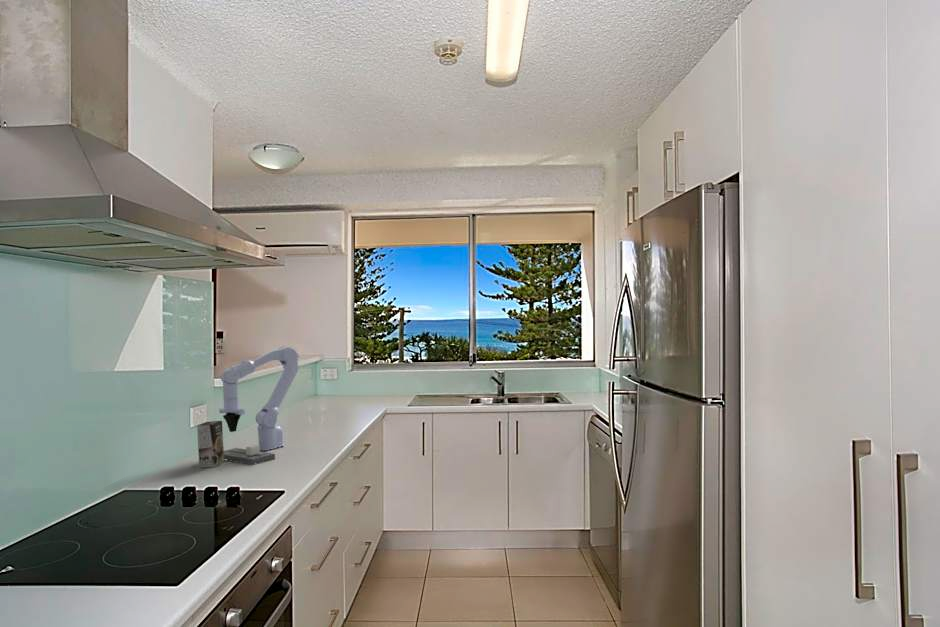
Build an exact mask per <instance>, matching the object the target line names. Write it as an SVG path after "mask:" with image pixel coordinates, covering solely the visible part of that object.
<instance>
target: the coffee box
mask: <svg viewBox="0 0 940 627" xmlns="http://www.w3.org/2000/svg"><path fill="white" fill-rule="evenodd" d="M196 427H197V429H196V430H197V448H198V468H216V467H217V466H219V465H221V464H222V463H224V462H225V460H224V451H225V450H224V448H225V447H224V432H223V420H216V421H215V420H212V421H205V422H203V423H201V424H200V423H199V424H198V425H196Z"/></svg>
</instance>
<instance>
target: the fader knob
mask: <svg viewBox="0 0 940 627" xmlns="http://www.w3.org/2000/svg"><path fill="white" fill-rule="evenodd" d="M245 449H246V455H250V456H252V455H256V454H260V452H261V450H260V446H259V444H256V445H250V446H246V447H245Z"/></svg>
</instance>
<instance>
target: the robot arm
mask: <svg viewBox="0 0 940 627" xmlns="http://www.w3.org/2000/svg"><path fill="white" fill-rule="evenodd" d="M298 360H299V354H298V351H297V350H296V348H294V347H292V346H287V347H286V346H280V347H278V348H275V349H273V350H270V351H268V352H266V353H264V354H263V355H261V356H259V357H257V358H255V359H254V360H250V359H247V360H246V359H243V360H242V361H241V362H240V363H239V364H236V365H232V366H230V367H231V368H226V369H224V370H223V371H222V372H221V373H220V374H221V375H220V381H222V392H223V394H222V395H223V407H220V408H219V414H224V415H223V416H222V418H223V419H224V420H225V422H226V424H227V427H228V430H229V432H230V433H234V432H236V431H237V429H238V424H239V420H240V418H241V416H242V415H245V414H246V412H245V409H243V408H240V402H239V401H240V400H239V386H238V381H239V380H241V379H243V378H245V377H247V376H249V375H251V374H253V373H254V372H255V370H256V368H258V367H260V366H263V365H265V364H267V363H269V362H272V361H278V362H280V364H281V365H282V368H283V372H282V373H281V376H280V378H279V380H278V382H277V383H276V386H275V387H274V390H273V391H272V393H271V395H270V397H269V399H268V401H267V403H266V404H264V406H263V407H262V408H261V410H260V411H259V412H257V414H256V415H255V422H256V423H257V424H258V426H257V437H258V438H257V440H258V446H260V451H263V450H265V451H264V452H267V451H270V449H271V450H275V449H278V448H277V447H279V448H282V447H281V446H283V447H285V445H284V441H283V430H282V428H281V426H279V425H276V424H277V422H278V416H279V408H280V406H281V405H282V402H283V400H284V398H285V397H286V395H287V392H288V391H289V389H290V387H291V386H292V383H293V382H294V379H295V378H296V375H297V373H298V370H299V366H298V365H299V362H298ZM274 448H275V449H274ZM266 450H267V451H266Z"/></svg>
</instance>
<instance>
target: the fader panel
mask: <svg viewBox="0 0 940 627" xmlns="http://www.w3.org/2000/svg"><path fill="white" fill-rule="evenodd" d="M224 459H227V460H226V461H229V460H232V461H231V462H234V461H238V462H237V463H240V462H243V463H242V464H246V463H249V464H248V465H251V464H254V465H256V464H255V463H258V464H260V462H261V463H264V462H263V461H265V462H268V461H267V460H269V461H272V460H271V459H273V460H275V459H276V454H275V453H271V452H267V451H260V454H256V455H252V456H250V455H246V448H239V447H235V448H230V449H226V450H224Z"/></svg>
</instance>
